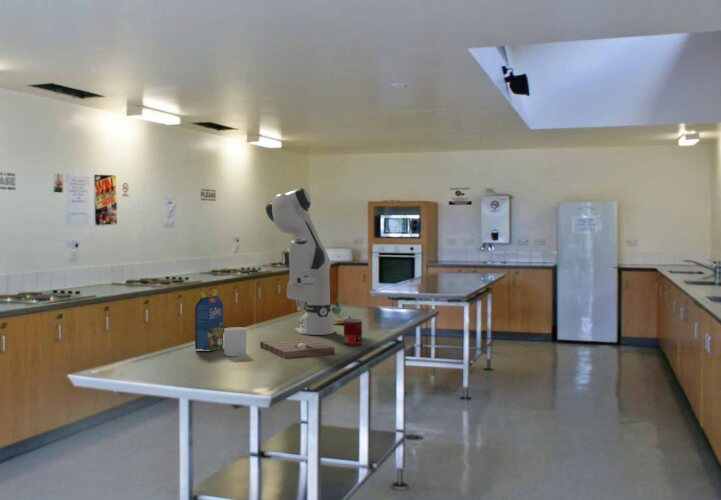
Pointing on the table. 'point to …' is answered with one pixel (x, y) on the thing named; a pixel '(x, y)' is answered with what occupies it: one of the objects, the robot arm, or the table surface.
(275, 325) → the table surface
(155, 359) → the table surface
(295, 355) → the board
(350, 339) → the canned food
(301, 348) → the ball
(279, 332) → the table surface
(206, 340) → the blue food package
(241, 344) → the mug
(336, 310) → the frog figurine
